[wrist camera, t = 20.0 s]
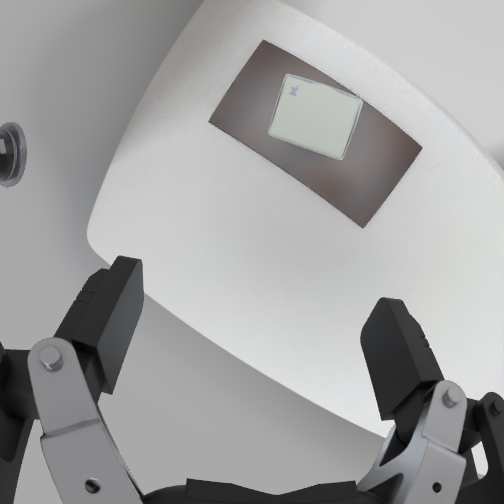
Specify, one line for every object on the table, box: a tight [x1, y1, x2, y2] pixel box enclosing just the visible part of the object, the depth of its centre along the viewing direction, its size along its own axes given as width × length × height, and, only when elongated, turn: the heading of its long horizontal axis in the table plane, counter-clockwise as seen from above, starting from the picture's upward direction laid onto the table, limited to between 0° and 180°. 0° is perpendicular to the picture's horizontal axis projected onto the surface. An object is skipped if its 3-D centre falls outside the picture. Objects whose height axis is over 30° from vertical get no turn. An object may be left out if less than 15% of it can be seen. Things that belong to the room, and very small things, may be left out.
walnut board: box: [208, 40, 422, 228], centre depth 29 cm, size 20×11×1 cm, turn 57°
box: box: [268, 74, 363, 160], centre depth 22 cm, size 5×4×13 cm
